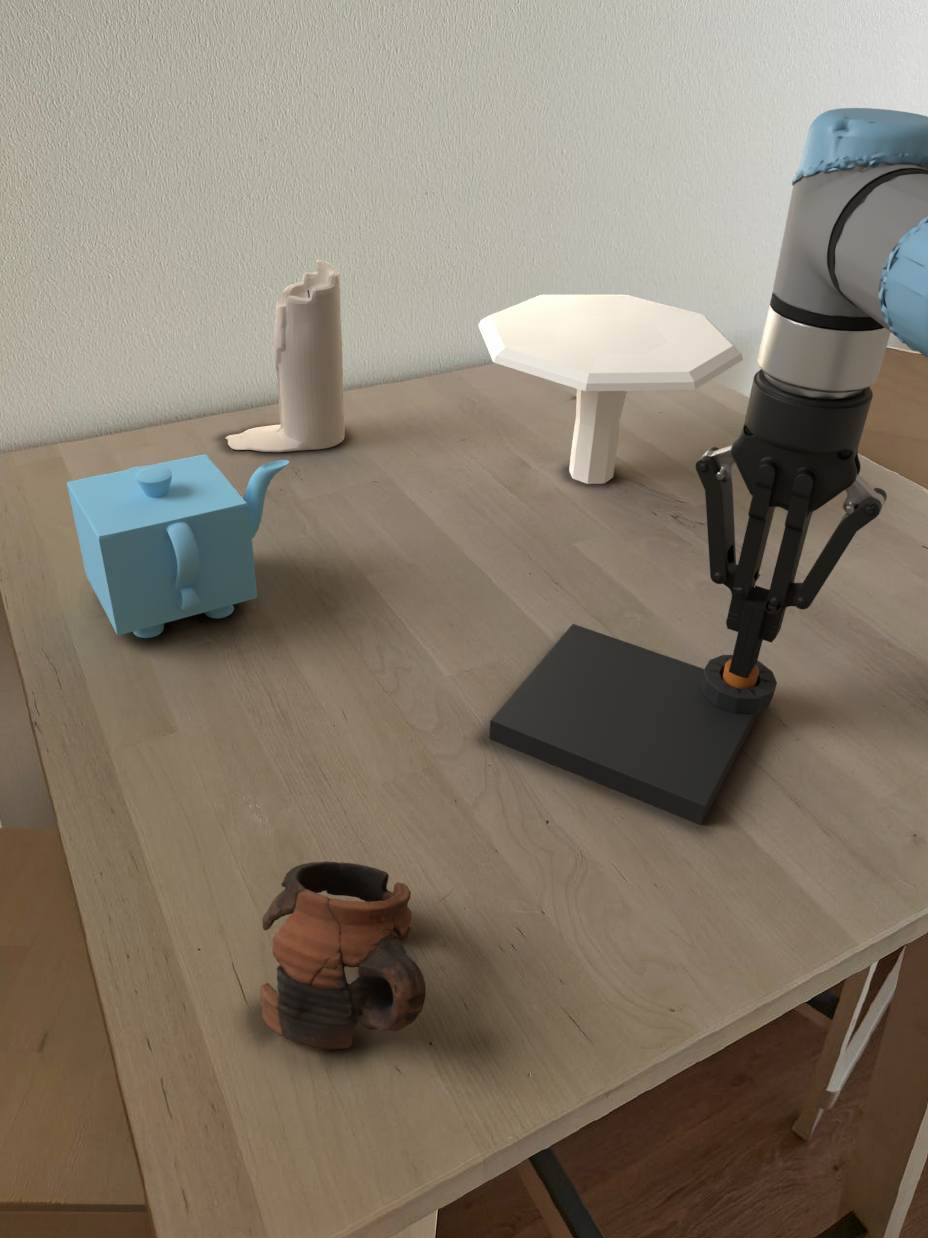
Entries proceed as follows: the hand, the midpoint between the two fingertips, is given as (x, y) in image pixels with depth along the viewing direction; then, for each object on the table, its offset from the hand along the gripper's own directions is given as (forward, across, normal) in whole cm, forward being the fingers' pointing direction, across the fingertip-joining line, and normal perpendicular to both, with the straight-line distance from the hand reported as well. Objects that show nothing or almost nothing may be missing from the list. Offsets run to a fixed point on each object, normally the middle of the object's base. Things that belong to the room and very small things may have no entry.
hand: (743, 665), depth 79 cm
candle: (+5, +61, -20) cm, 64 cm away
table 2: (+5, +27, -32) cm, 42 cm away
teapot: (+5, +47, +10) cm, 48 cm away
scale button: (+2, 0, 0) cm, 2 cm away
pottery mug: (+5, +12, +37) cm, 39 cm away
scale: (+5, +7, +6) cm, 10 cm away
